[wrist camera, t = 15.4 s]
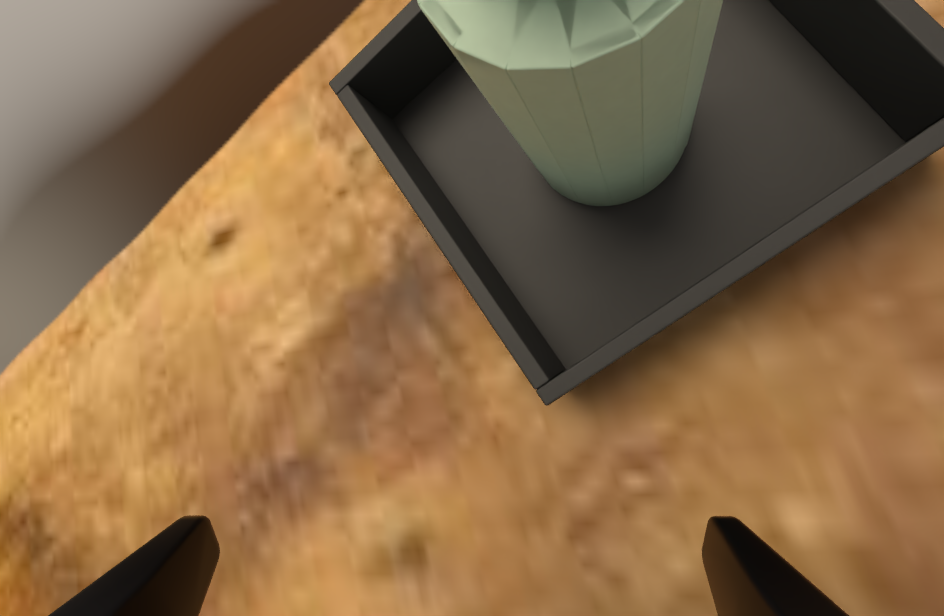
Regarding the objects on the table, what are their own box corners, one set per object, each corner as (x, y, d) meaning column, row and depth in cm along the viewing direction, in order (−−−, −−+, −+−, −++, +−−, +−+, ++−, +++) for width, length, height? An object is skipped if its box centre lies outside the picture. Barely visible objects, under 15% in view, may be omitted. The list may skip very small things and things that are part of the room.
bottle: (722, 87, 17) (963, -630, 4) (636, 232, 18) (614, 11, 5) (578, 33, 19) (431, -607, 6) (506, 168, 20) (235, -125, 7)
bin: (930, 149, 16) (1019, 97, 12) (564, 389, 20) (545, 406, 16) (654, -133, 19) (656, -246, 15) (381, 122, 22) (327, 82, 19)
